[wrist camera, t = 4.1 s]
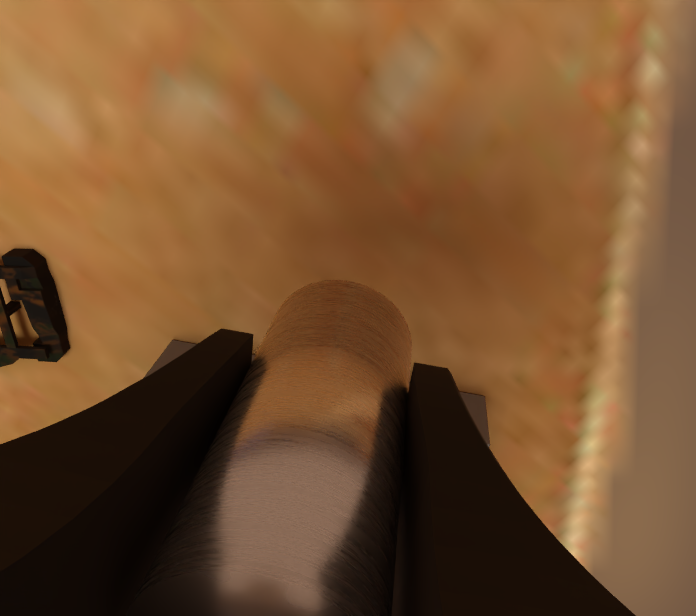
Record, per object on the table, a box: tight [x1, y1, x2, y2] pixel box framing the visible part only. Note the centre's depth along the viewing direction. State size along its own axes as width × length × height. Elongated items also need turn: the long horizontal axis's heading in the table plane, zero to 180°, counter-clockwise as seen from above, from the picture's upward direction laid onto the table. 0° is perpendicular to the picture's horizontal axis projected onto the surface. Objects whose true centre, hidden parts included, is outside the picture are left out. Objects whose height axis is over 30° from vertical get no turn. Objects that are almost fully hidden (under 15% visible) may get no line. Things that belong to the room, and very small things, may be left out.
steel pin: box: [126, 280, 412, 616], centre depth 10 cm, size 3×3×7 cm
